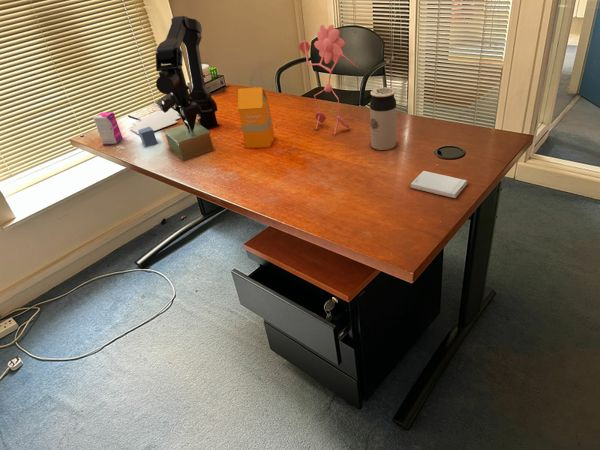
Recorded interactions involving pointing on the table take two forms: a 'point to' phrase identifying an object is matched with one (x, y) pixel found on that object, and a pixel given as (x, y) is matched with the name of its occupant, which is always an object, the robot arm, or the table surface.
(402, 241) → the table surface
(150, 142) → the blue-grey block
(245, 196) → the table surface
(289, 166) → the table surface
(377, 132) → the travel mug
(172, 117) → the paper stack
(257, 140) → the orange juice
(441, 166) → the table surface
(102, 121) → the supplement box
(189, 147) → the waste bin
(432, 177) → the hard drive
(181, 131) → the bin lid
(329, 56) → the figurine
